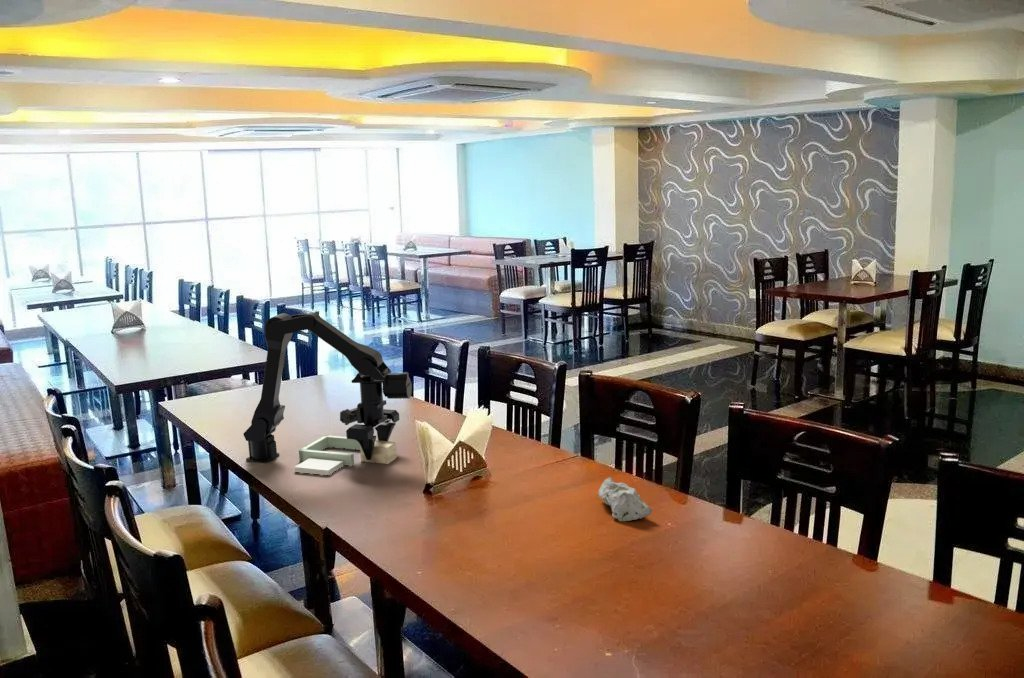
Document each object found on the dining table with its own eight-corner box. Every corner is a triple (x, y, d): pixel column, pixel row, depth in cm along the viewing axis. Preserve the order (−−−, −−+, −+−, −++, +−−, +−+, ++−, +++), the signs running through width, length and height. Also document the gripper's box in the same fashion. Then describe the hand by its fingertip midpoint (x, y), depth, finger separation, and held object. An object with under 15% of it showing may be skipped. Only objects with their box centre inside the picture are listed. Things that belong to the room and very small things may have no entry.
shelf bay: (299, 461, 217) (298, 450, 216) (326, 445, 229) (325, 435, 229) (351, 466, 212) (351, 455, 211) (376, 449, 224) (375, 439, 224)
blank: (361, 461, 216) (360, 445, 215) (370, 455, 220) (369, 439, 219) (388, 464, 213) (387, 448, 212) (397, 458, 218) (396, 442, 217)
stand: (294, 472, 208) (294, 467, 208) (309, 463, 215) (309, 458, 215) (328, 476, 205) (328, 470, 205) (343, 466, 212) (342, 461, 211)
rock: (586, 502, 184) (585, 473, 183) (613, 496, 187) (613, 468, 186) (623, 527, 170) (623, 497, 169) (652, 521, 173) (652, 491, 172)
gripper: (362, 387, 225) (366, 441, 228) (325, 406, 208) (330, 464, 211) (398, 390, 221) (401, 445, 224) (364, 408, 204) (368, 468, 207)
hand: (375, 455), depth 217 cm, fingers open, 7 cm apart
